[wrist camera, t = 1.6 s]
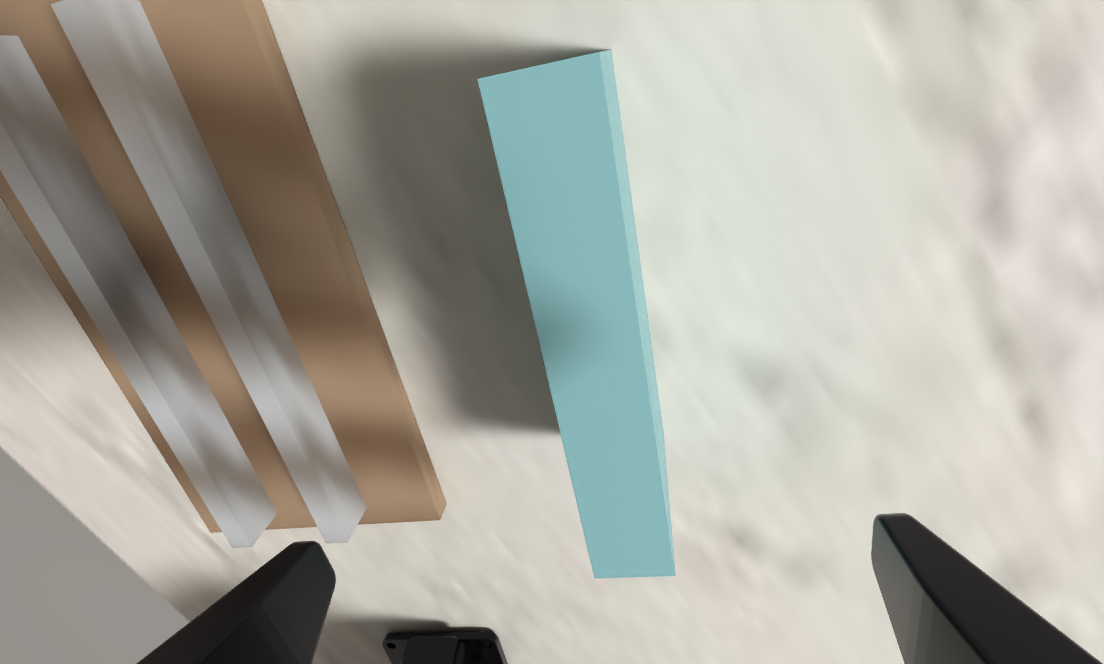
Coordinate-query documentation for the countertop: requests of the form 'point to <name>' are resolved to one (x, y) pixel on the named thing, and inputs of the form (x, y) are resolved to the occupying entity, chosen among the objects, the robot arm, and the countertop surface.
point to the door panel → (587, 299)
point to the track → (208, 259)
